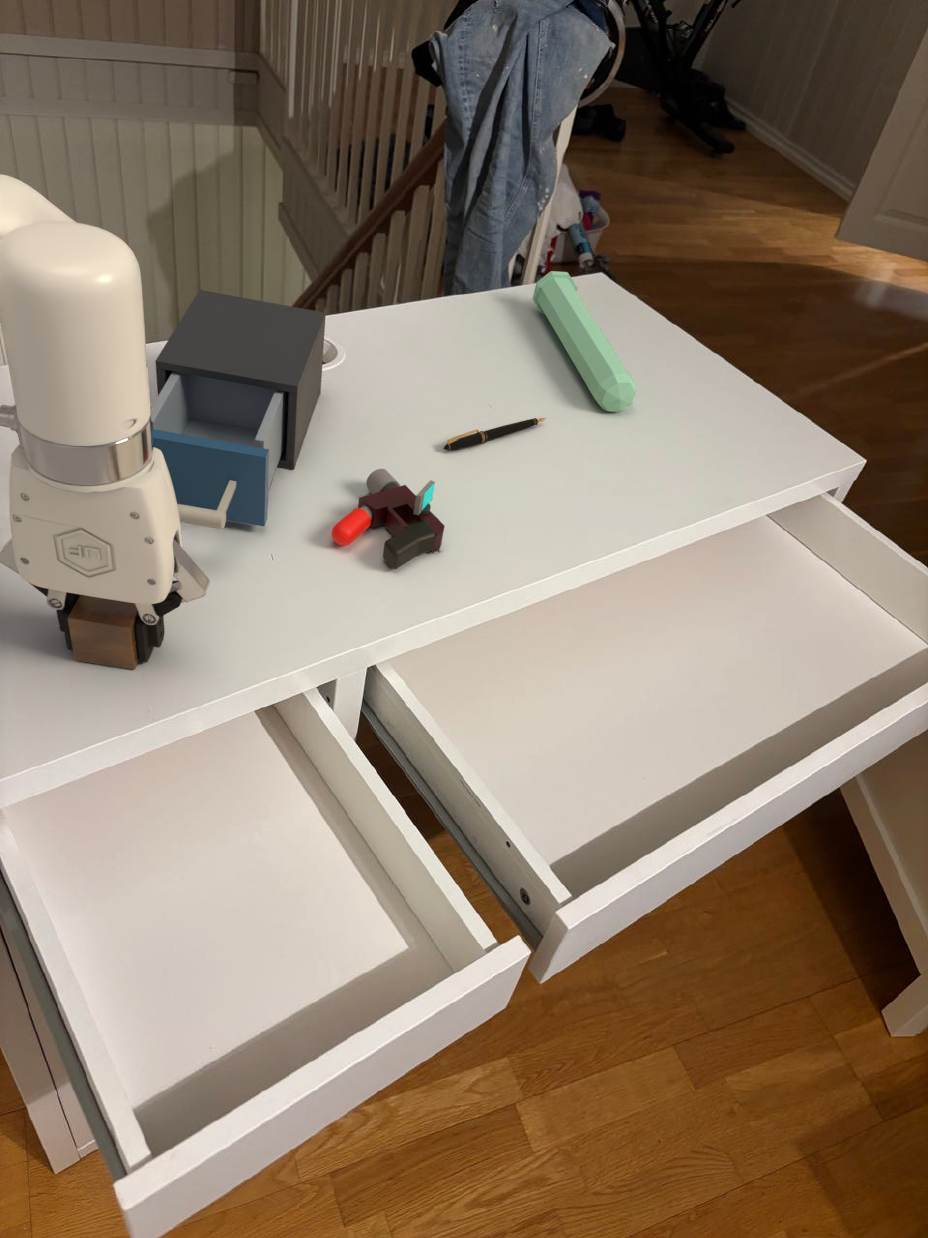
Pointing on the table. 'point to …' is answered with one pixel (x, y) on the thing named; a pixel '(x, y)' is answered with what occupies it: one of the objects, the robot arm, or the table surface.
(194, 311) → the cabinet
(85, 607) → the block
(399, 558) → the toy gun
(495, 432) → the fountain pen
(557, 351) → the table surface
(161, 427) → the drawer
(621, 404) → the container
